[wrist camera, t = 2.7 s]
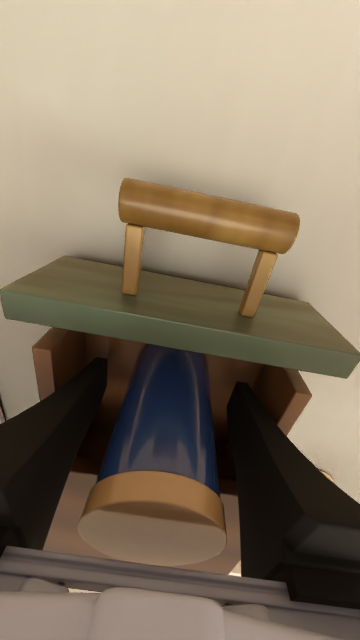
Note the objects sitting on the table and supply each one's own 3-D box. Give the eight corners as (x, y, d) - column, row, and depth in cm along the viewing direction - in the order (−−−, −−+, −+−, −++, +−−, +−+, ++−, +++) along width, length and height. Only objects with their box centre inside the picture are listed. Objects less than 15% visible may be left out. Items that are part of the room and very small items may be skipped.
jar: (131, 388, 15) (79, 556, 8) (137, 329, 13) (74, 490, 6) (200, 400, 15) (207, 573, 8) (218, 343, 13) (248, 515, 6)
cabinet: (68, 372, 18) (8, 462, 12) (258, 404, 18) (288, 504, 12) (75, 472, 24) (38, 561, 18) (214, 492, 25) (220, 584, 19)
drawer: (58, 162, 10) (-33, 145, 6) (347, 223, 11) (443, 244, 7) (73, 413, 18) (38, 480, 14) (239, 440, 19) (253, 511, 15)
